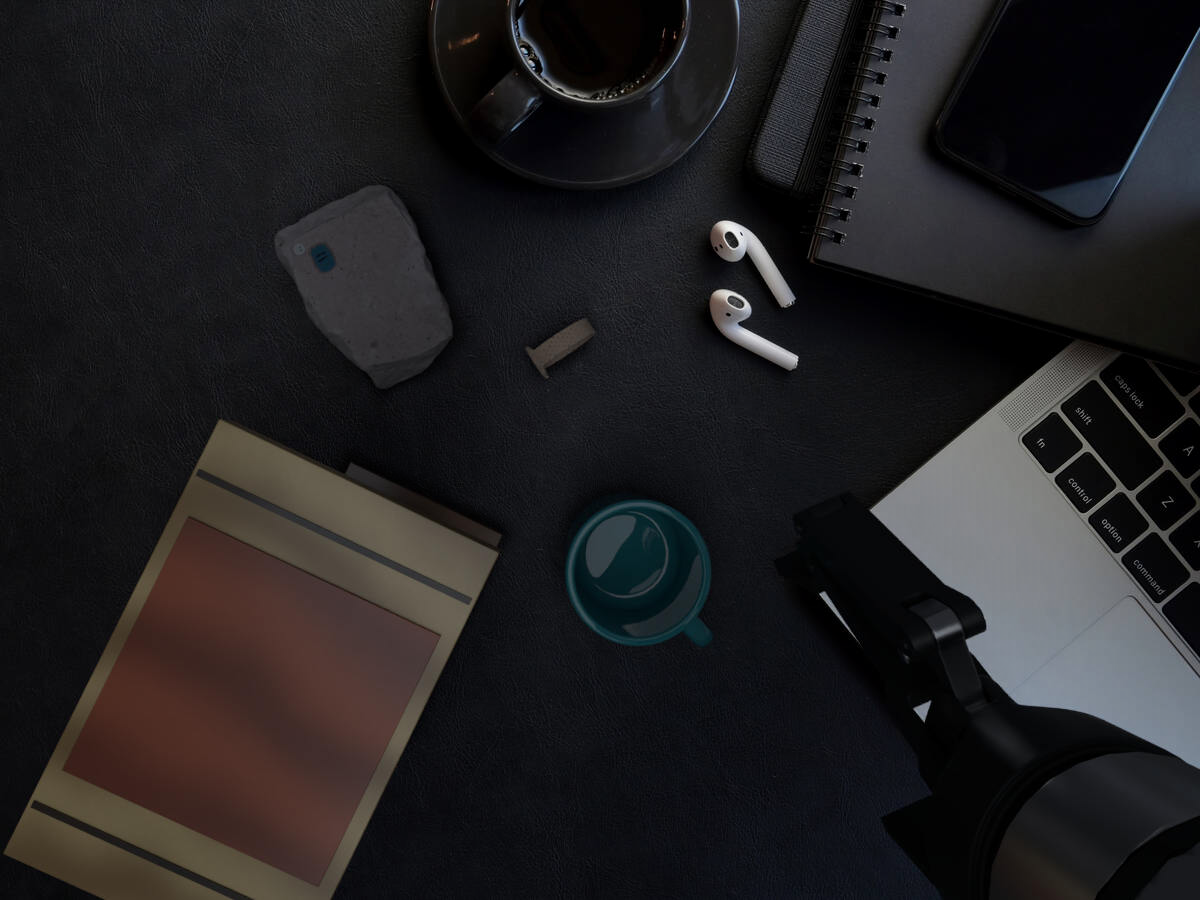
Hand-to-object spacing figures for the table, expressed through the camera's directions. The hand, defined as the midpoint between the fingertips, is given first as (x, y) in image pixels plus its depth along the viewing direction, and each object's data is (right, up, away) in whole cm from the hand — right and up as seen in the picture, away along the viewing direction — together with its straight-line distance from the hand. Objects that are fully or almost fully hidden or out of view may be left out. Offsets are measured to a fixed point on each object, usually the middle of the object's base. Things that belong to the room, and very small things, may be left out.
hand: (854, 684), depth 45 cm
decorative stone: (-29, +23, +22) cm, 43 cm away
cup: (-10, +3, +23) cm, 25 cm away
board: (-27, +1, -5) cm, 27 cm away
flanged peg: (-15, +19, +23) cm, 33 cm away
